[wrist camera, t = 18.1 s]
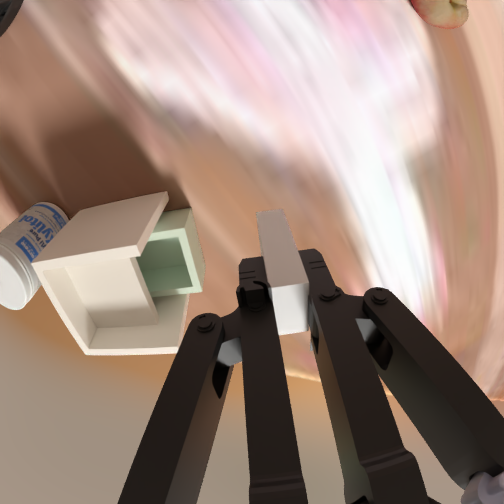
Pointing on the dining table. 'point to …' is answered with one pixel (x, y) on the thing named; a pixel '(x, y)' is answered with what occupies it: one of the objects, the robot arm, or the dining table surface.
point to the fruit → (442, 12)
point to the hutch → (111, 281)
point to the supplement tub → (26, 251)
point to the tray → (173, 256)
